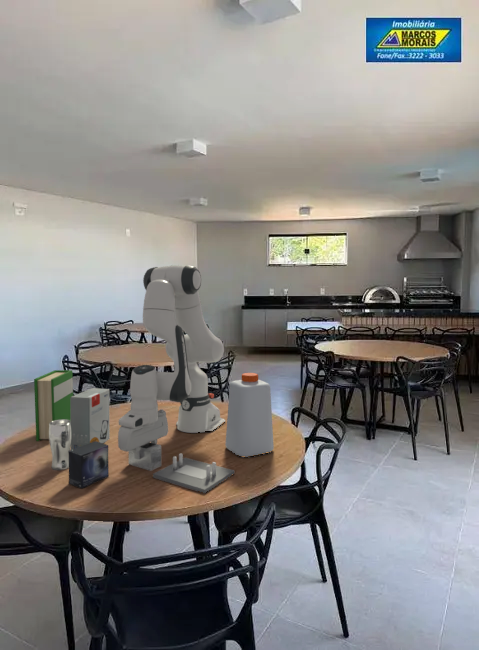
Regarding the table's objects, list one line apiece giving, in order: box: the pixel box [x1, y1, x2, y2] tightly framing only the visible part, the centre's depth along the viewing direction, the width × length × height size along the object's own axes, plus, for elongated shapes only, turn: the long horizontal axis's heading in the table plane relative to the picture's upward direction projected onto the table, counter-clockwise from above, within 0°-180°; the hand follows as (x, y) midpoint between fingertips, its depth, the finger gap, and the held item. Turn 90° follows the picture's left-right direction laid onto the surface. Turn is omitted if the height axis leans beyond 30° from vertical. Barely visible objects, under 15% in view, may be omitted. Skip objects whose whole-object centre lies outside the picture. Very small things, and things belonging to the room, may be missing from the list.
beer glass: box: [48, 419, 72, 471], centre depth 149 cm, size 7×7×15 cm
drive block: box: [128, 442, 162, 472], centre depth 152 cm, size 5×10×7 cm, turn 58°
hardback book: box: [33, 369, 74, 442], centre depth 182 cm, size 18×7×24 cm, turn 178°
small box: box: [68, 441, 110, 489], centre depth 139 cm, size 11×6×10 cm, turn 148°
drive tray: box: [152, 453, 236, 494], centre depth 143 cm, size 16×20×5 cm
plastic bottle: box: [225, 372, 274, 458], centre depth 165 cm, size 15×15×28 cm
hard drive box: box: [70, 387, 111, 450], centre depth 169 cm, size 16×8×20 cm, turn 168°
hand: (144, 455), depth 152 cm, fingers closed on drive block, 5 cm apart
